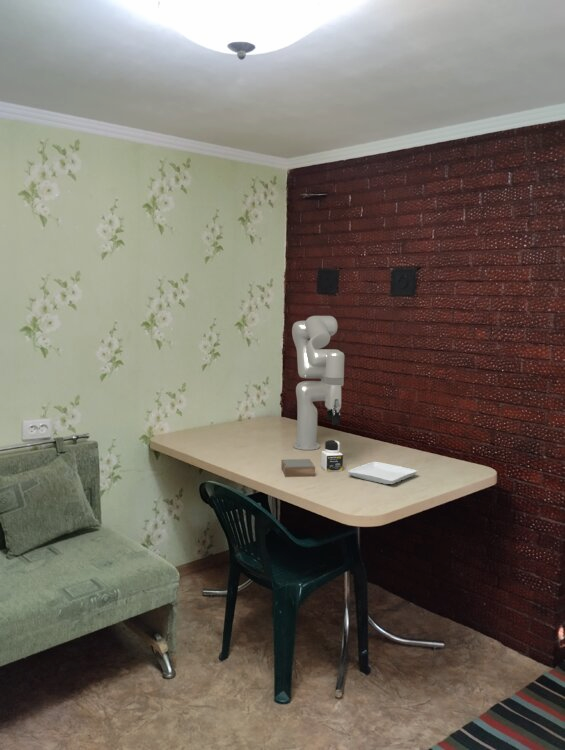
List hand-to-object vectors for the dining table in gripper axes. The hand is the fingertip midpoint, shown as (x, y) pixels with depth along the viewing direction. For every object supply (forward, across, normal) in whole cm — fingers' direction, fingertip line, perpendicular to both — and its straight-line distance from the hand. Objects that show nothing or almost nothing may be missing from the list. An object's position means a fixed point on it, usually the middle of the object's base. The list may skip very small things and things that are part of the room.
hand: (333, 422), depth 265 cm
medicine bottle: (+20, 0, 0) cm, 20 cm away
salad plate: (+21, +13, +18) cm, 30 cm away
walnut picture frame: (+20, +4, -15) cm, 25 cm away
